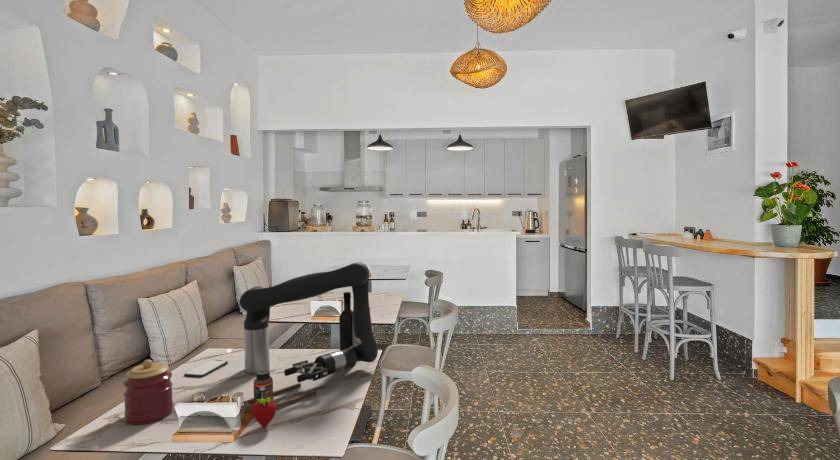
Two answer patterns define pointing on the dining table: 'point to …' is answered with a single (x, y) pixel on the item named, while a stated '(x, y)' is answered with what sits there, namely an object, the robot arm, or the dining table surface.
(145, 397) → the canister
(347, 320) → the wine bottle
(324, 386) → the dining table surface
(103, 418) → the dining table surface
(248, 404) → the walnut track
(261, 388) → the supplement bottle
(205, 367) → the phone case
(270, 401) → the strawberry
